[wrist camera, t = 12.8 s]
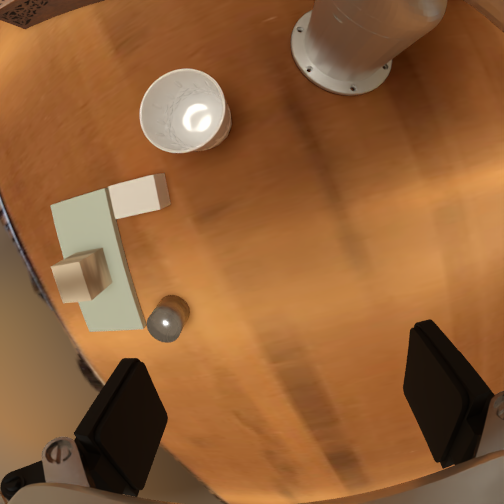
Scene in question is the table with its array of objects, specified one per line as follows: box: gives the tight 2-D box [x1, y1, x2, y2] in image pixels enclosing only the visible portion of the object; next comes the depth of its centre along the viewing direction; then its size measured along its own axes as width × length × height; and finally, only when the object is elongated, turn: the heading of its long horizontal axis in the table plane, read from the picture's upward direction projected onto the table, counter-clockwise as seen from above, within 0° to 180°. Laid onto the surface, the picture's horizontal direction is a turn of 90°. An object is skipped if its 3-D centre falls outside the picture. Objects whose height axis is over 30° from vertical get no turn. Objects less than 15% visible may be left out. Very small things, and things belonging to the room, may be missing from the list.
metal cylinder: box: [147, 295, 190, 342], centre depth 39 cm, size 4×4×5 cm
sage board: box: [51, 188, 146, 332], centre depth 39 cm, size 20×10×1 cm, turn 10°
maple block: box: [51, 248, 113, 303], centre depth 36 cm, size 5×5×6 cm
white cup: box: [140, 69, 232, 153], centre depth 29 cm, size 8×8×10 cm
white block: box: [108, 173, 171, 219], centre depth 35 cm, size 4×6×4 cm, turn 100°
